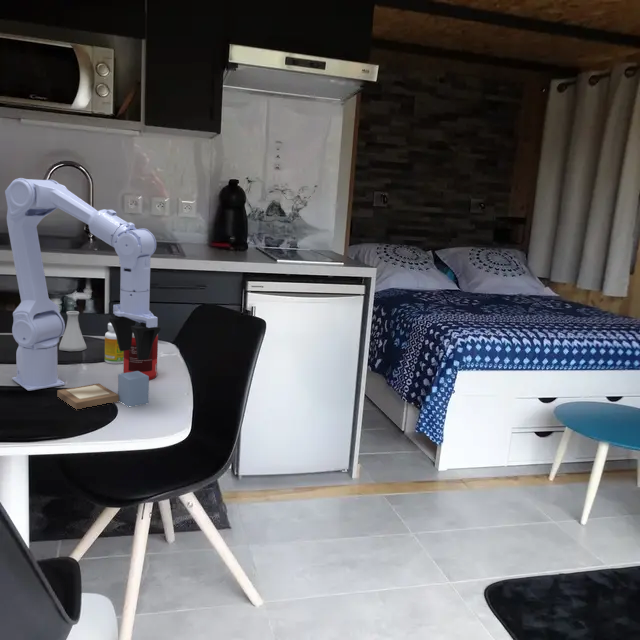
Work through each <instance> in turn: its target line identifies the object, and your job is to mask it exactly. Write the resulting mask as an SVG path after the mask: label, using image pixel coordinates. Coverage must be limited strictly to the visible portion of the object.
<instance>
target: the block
mask: <svg viewBox="0 0 640 640" xmlns="http://www.w3.org/2000/svg"><path fill="white" fill-rule="evenodd" d="M117 376H118V377H117V378H118V379H117V383H118V384H117V394H118V395H119V401H120V402H122V403H124V404H125V405H127V406H128V407H129V406H134V407H136V406H135V405H139V406H141V405H140V404H144V405H147V404H146V403H148V404H149V396H150V395H149V394H150V393H149V389H150V387H149V385H150V380H149V376H147V375H145V374H143V373H141V372H139V371H134V372H128V373H123V372H122V373H118V374H117ZM120 402H119V403H120ZM122 403H121V404H122ZM125 405H124V406H125ZM127 406H126V407H127ZM128 407H127V408H128ZM129 408H130V407H129Z"/></svg>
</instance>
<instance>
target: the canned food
mask: <svg viewBox="0 0 640 640" xmlns="http://www.w3.org/2000/svg"><path fill="white" fill-rule="evenodd" d="M158 348H159V333H158V334H157V336H156V338H155V340H154V342H153V345H152V348H151V352H150V355H149V359H143V360H139V359H138V357H137V350H136V341H135V337H134V334H133V335H132V344H131V348H130V350H125V351H124V363H123V368H122V369H123V372H122V373H128V372H134V371H139V372H141V373H143V374H145V375H147V376H149V381H151V380H154V379H155V378H156V377H157V374H158V350H159V349H158Z"/></svg>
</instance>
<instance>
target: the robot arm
mask: <svg viewBox="0 0 640 640" xmlns="http://www.w3.org/2000/svg"><path fill="white" fill-rule="evenodd" d="M4 194H5V199H6V205H7V211H6V212H7V213H6V225H7V228H8V229H7V231H8V236H9V240H10V247H11V253H12V258H13V263H14V264H13V265H14V269H15V274H16V279H17V280H16V281H17V286H18V287H17V288H18V290H19V296H20V303H19V304H18V306H17V307H16V308H15V309H14V311H13V312H12V317H13V319H12V320H13V323H12V328H11V332H12V336H13V339H14V340H15V342H16V343H17V344H18V347H17V349H16V351H15V352H16V376H13V377H12V378H11V379H12V380H13V382H15V383H16V384H18V385H20V387H22V388H24V389H25V390H27V391H36V390H41V389H47V388H53V387H59V386H65V385H66V383H65V381H63V380H61V379H60V378H58V343H60V338H61V337H63V335H64V332H65V329H66V324H65V323H66V322H65V320H64V318H63V316H62V315H61V312H60V310H59V306H58V305H57V303H55V302H54V301H53V300H51V299H50V298H49V297H50V296H49V294H48V293H49V292H48V291H49V290H48V287H47V280H46V274H45V270H44V269H45V268H44V262H43V257H42V251H41V245H40V239H39V234H38V228H37V226H38V225H39V224H40V222H42V221H43V219H44V218H45V217H46V216H48V215H50V214H52V213H53V212H54V211H55V210H57V209H59V210H61V211H63V212H64V213H66V214H68V215H70V216H71V217H74V218H76V220H78V221H81V222H83V223H84V224H86V225H88V230H89V232H90V234H92V235H93V236H94V237H96V238H98V239H99V240H102V241H103V242H104V243H106V244H108V245H109V246H111V248H113V249H114V250H115V253H116V254H117V256H118V258H119V265H120V282H119V283H120V284H119V285H120V288H119V289H120V291H119V292H120V294H119V301H120V302H119V303H118V304H117V303H116V304H113V306H112V307H113V308H112V311H113V313H112V314H114V316H110V317H109V318H108V320H109V323H111V324H112V326H113V328H114V331H115V334H116V337H117V341H118V346H119V349H120V351H125V350H130V348H131V344H132V335H133V334H134V337H135V341H136V350H137V357H138V359H139V360H143V359H149V355H150V352H151V348H152V345H153V342H154V340H155V338H156V336H157V334H158V335H159V333H160V331H161V326H160V325H158V322H159V321H158V316H155V315H154V314H153V312H152V311H151V310H150V299H151V298H150V297H151V296H150V294H151V293H150V292H151V291H150V290H151V257H152V255H154V253H155V252H156V249H157V240H156V237H155V235H154V234H153V232H151V231H150V230H149V229H147V228H137V227H135V226H136V224H135V223H133V222H131V221H130V222H128V221H126V220H125V219H122V218H121V217H119V216H118V215H117V211H115V210H114V209H99V210H97V209H96V208H95V207H93V206H91V205H90V204H89V203H87V202H86V201H84V200H83V199H81V198H80V197H79V196H77V195H76V194H75V193H74V192H72V191H70V190H69V189H68V188H67V186H65V185H64V184H61V183H59V182H58V181H56V180H54V179H31V178H29V179H28V178H25V177H24V178H23V177H19V178H15V179H14V180H12V182H10V184H9V185H8V186H7V188H6V189H5V190H4ZM136 323H139V324H136Z"/></svg>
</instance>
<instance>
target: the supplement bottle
mask: <svg viewBox="0 0 640 640" xmlns="http://www.w3.org/2000/svg"><path fill="white" fill-rule="evenodd" d="M107 330H108V331H107V332H105V335H104V362H106V364H111V365H120V364H124V351H120V349H119V346H118V341H117V337H116V334H115V331H114V328H113V326H112V324H111V322H108V323H107Z"/></svg>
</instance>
